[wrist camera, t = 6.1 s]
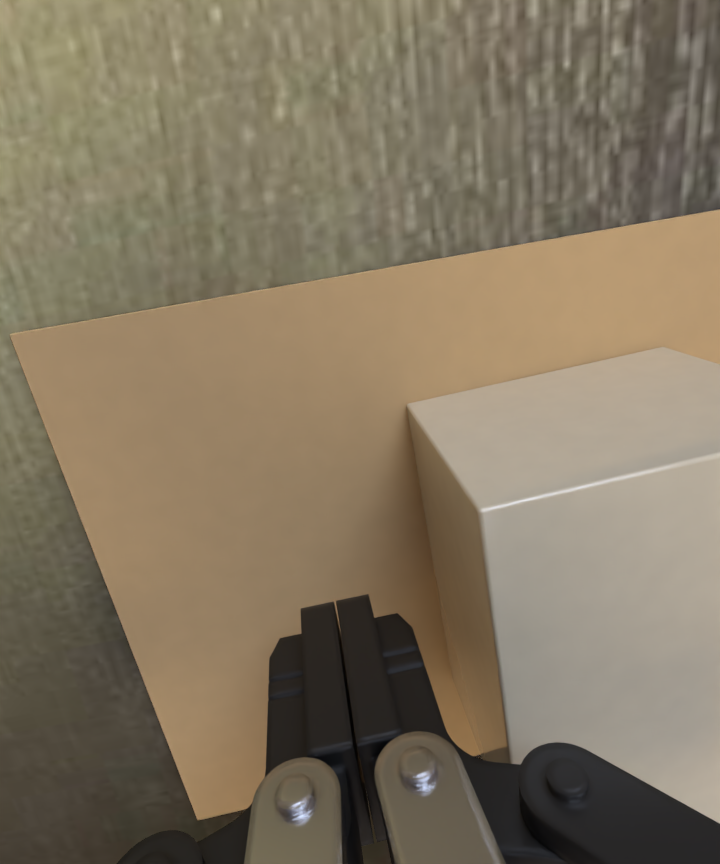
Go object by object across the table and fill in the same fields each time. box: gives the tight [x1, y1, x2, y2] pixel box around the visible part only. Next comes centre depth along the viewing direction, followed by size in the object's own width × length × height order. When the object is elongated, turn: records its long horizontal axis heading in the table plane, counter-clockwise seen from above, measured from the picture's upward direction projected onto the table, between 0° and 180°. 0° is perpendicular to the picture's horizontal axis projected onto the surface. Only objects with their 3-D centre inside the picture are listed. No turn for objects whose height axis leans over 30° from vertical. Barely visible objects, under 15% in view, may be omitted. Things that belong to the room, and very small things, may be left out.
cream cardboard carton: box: [406, 347, 720, 823], centre depth 11 cm, size 6×8×5 cm
